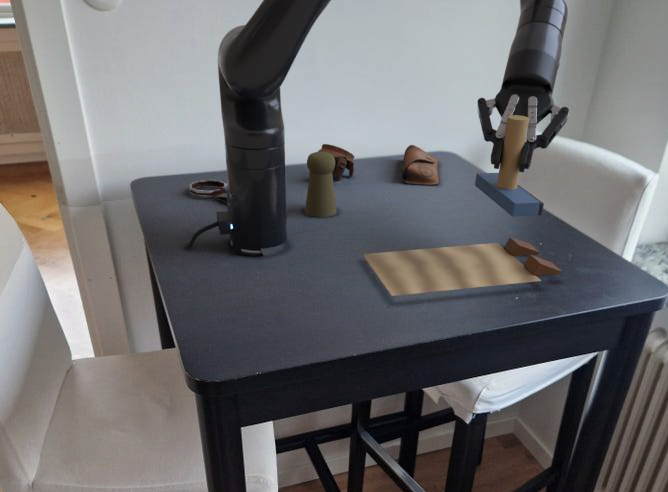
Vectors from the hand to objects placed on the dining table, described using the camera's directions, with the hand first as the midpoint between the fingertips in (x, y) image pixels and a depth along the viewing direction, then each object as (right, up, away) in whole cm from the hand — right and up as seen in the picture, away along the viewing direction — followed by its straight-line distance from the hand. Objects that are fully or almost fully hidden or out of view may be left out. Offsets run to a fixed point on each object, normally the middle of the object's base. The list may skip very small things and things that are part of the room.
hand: (509, 167), depth 98 cm
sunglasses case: (-7, +14, +54) cm, 57 cm away
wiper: (0, -4, +4) cm, 6 cm away
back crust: (+5, -10, +15) cm, 19 cm away
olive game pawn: (-29, 0, +31) cm, 42 cm away
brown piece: (-27, +11, +47) cm, 55 cm away
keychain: (-47, +4, +35) cm, 59 cm away
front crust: (+7, -14, +9) cm, 18 cm away
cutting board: (-8, -14, +9) cm, 19 cm away
